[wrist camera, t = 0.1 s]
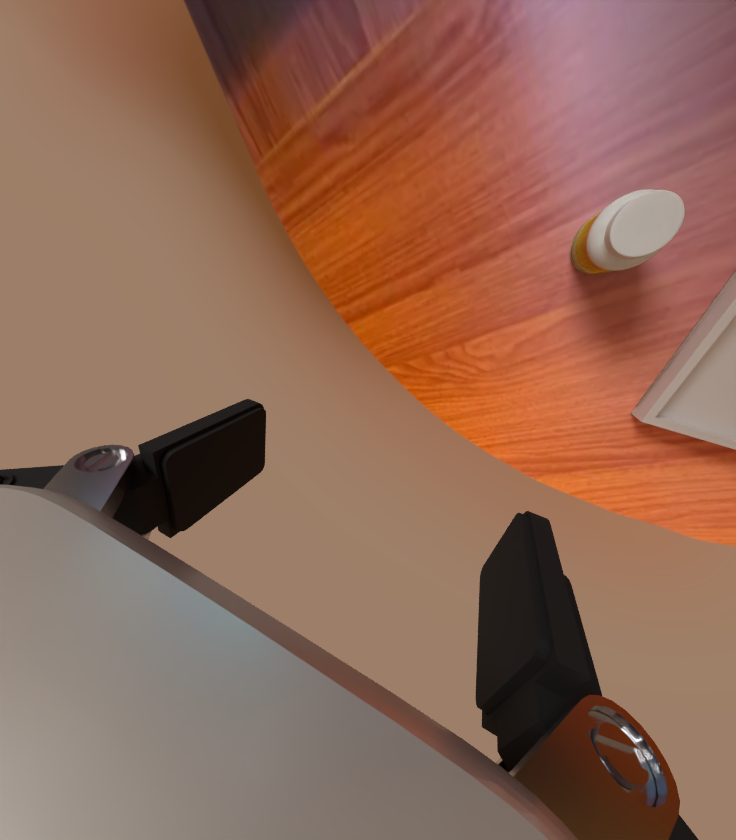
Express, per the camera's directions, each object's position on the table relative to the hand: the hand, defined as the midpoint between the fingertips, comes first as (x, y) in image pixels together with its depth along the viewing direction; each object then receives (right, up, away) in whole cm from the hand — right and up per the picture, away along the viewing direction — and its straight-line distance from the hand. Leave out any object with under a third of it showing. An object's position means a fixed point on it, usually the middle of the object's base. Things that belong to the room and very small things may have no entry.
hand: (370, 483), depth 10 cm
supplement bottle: (+23, +20, +18) cm, 35 cm away
